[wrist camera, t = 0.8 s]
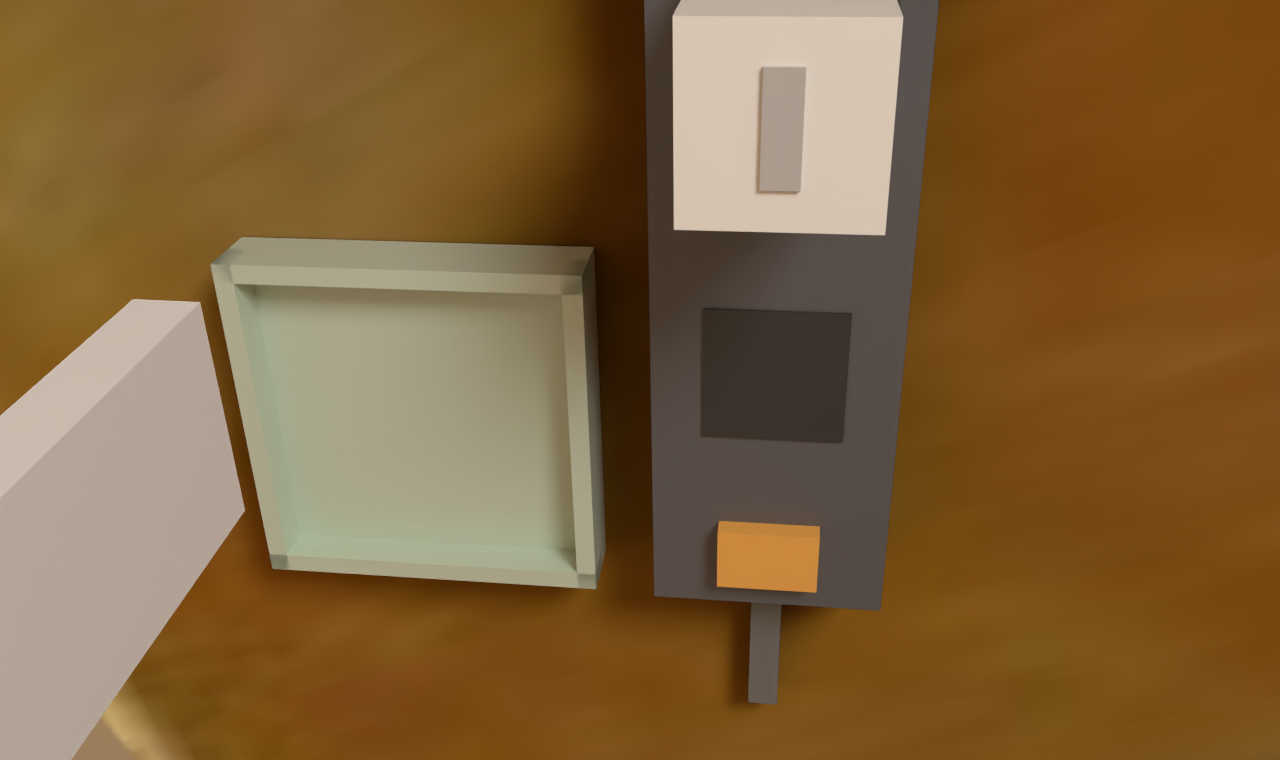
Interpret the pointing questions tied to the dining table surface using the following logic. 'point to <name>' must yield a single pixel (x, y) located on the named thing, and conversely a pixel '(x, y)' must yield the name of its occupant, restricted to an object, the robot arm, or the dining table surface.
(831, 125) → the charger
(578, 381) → the dish
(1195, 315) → the dining table surface
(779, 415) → the power strip
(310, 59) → the dining table surface
